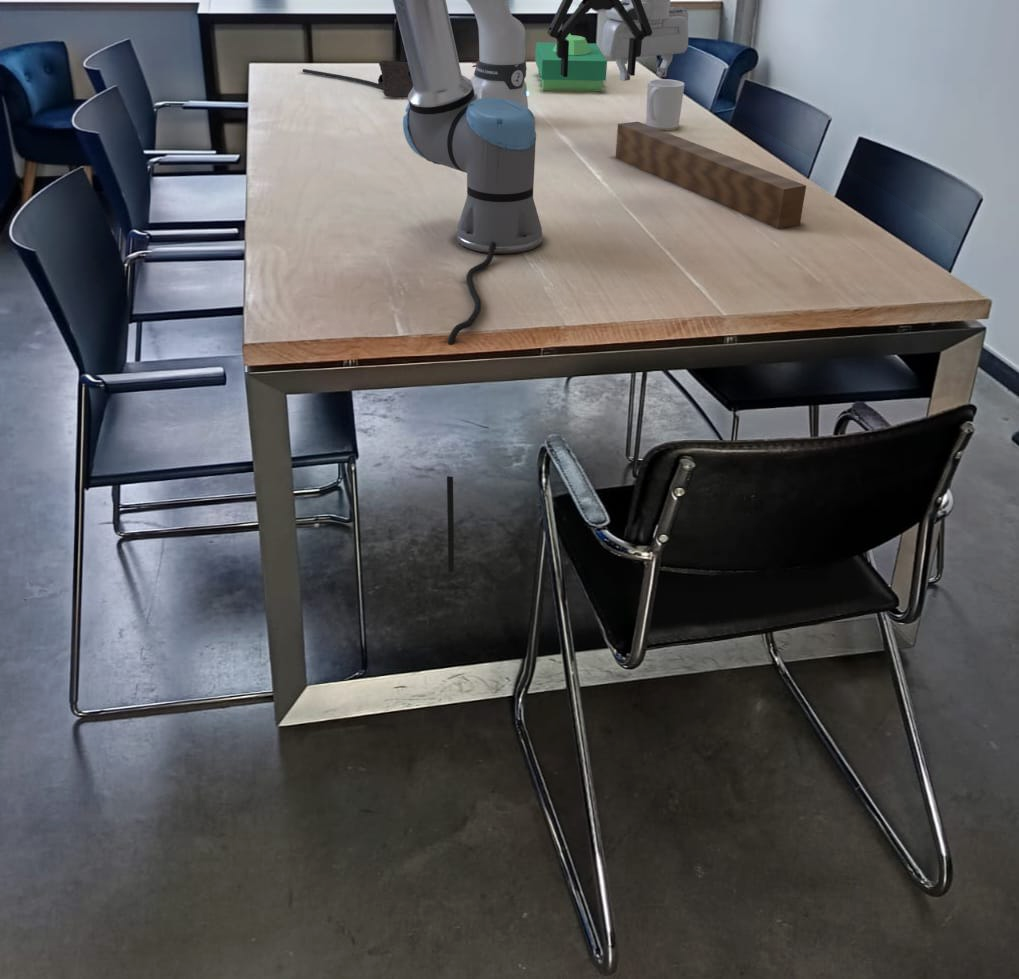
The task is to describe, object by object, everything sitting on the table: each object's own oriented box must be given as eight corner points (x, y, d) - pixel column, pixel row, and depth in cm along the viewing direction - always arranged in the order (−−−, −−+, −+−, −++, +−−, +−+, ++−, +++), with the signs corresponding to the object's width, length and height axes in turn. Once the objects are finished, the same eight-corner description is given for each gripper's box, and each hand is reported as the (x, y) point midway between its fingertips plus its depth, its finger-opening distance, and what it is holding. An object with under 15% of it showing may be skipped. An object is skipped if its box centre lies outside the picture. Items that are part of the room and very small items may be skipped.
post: (800, 224, 207) (806, 185, 203) (778, 228, 205) (784, 188, 201) (635, 155, 248) (637, 121, 244) (615, 157, 246) (617, 123, 242)
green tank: (593, 25, 326) (608, 46, 296) (591, 69, 332) (604, 93, 302) (534, 24, 325) (543, 45, 295) (533, 67, 331) (541, 92, 301)
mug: (656, 120, 276) (660, 77, 271) (687, 126, 272) (691, 82, 266) (632, 127, 269) (635, 84, 264) (663, 134, 264) (667, 89, 259)
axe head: (443, 87, 294) (392, 77, 287) (436, 115, 299) (385, 106, 292) (421, 62, 307) (371, 52, 300) (414, 89, 311) (365, 80, 304)
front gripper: (662, -47, 209) (652, 70, 220) (534, -47, 204) (531, 72, 216) (674, -43, 203) (664, 77, 214) (543, -43, 198) (539, 80, 209)
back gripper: (679, 3, 234) (673, 71, 241) (599, 9, 225) (595, 79, 232) (697, 7, 229) (691, 76, 236) (616, 13, 220) (612, 85, 228)
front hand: (597, 75), depth 215 cm, fingers open, 13 cm apart
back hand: (643, 78), depth 234 cm, fingers open, 8 cm apart
